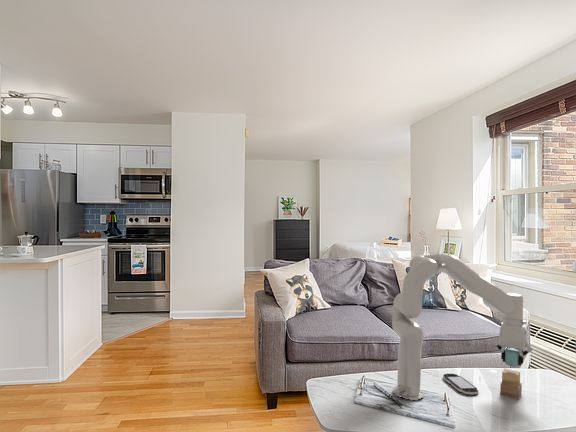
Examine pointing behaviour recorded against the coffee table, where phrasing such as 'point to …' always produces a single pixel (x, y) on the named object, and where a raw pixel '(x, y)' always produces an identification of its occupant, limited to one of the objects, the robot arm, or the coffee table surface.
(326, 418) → the coffee table surface
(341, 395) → the coffee table surface
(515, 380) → the tower top
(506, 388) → the tower bottom
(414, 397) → the robot arm
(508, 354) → the teal rounded tapered object
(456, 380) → the gaming console
